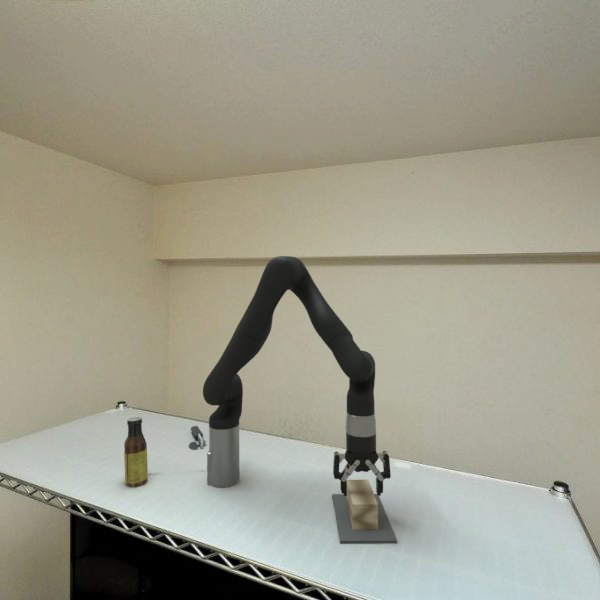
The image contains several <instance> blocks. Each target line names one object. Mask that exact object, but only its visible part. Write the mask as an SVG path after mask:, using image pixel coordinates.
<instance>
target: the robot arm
mask: <svg viewBox="0 0 600 600" xmlns="http://www.w3.org/2000/svg"><path fill="white" fill-rule="evenodd" d="M289 290H290V291H291V292H292V293H293V294H294V295H295V296H296V297H297V298H298V299H299V301H300V302H301V304H302V305H303V306H304V308H305V310H306V313H307V315H308V318H309V320H310V323H311V325H312V327H313V329H314V330H315V332H316V334H318V336H319V337H320V338H321V340H322V341H323V342H324V344H325V345H326V346H327V348H329V350H330V351H331V353H332V355H333V356H334V359H335V360H336V362H337V364H338V366H339V368H340V369H341V371H342V372H343V373H344V375H345V376H346V377H348V378H349V379H348V381H349V383H348V385H349V386H348V390H347V394H346V417H345V446H346V448H345V449H346V451H345V453H340V452H338V451H334V453H333V470H332V471H333V473H332V474H333V478H334V479H335V480H339V481H340V492H341V494H344V496H347V481H346V480H348V478H349V477H350V476H351V475H352V474H353V473H354V472H356V473H360V472H363V473H368V472H369V471H370V472H372V473H373V474H374V476H375V484H376V485H375V490H376V491H375V492H376V494H377V495H378V496H379V497H380V496H381V495H382V494H383V493H384V480H385V479H390V478H391V476H392V475H391V465H390V464H391V463H390V461H391V460H390V456H389V454H388V452H387V451H386V450H384V451H382V452H377V425H376V424H377V423H376V422H377V421H376V415H375V393H374V392H375V391H374V390H375V384H376V382H375V381H376V362H375V359H374V357H373V355H372V354H371V353H370V352H369V351H365V350H361V349H360V347H359V346H358V344H357V343H356V341H354V337H353V334H352V333H351V331H350V330H349V329H348V327H347V326H346V325H345V323H344V322H343V321H342V320H341V319H340V317H339V316H338V315H337V314H336V312H335V310H333V308H332V307H331V305H330V304H329V302H327V300H326V299H325V298H324V296H323V294H322V293H321V291H320V290H319V288H318V286H317V284H316V283H315V282H314V280H313V278H312V276H311V274H310V273H309V270H308V269H307V267H306V266H305V264H304V263H303V261H302V260H301V259H299V258H297V257H295V256H291V255H289V256H288V255H287V256H286V255H279V256H275V257H273V258H271V260H269V261H268V262H267V264H266V266H265V267H264V270H263V272H262V274H261V277H260V280H259V282H258V285H257V287H256V291H255V292H254V294H253V296H252V299H251V301H250V302H249V303H248V306H247V307H246V310H245V312H244V313H243V315H242V316H241V319H240V320H239V322H238V324H237V326H236V328H235V330H234V332H233V334H232V336H231V338H230V340H229V342H228V344H227V346H226V348H225V349H224V351H223V352H222V354H221V356H220V358H219V360H218V361H217V363H216V364H215V366H214V367H213V369H212V370H211V372H210V373H209V374H208V376H207V377H206V379H205V381H204V383H203V387H202V397H203V400H204V401H205V402H206V404H208V405H210V406H218V407H217V408H216V410H215V411H214V412H212V413H211V414H210V416H209V417H208V451H207V454H206V458H207V459H206V461H207V462H206V472H207V473H206V474H207V475H206V476H207V477H206V479H207V480H206V481H207V482H206V485H208V486H212V487H215V488H228V487H230V486H234V485H236V484H237V483H238V482H239V481H240V419H241V416H242V411H243V399H244V398H243V393H244V391H243V390H244V387H243V381H242V378H241V377H240V375H239V374H238V372H240V371H241V370H242V369H243V368H244V367H246V365H247V364H249V363H250V361H252V360H253V359H254V358H255V357H256V356H257V355H258V354H259V352H260V351H261V349H262V348H263V347H264V344H265V343H266V342H267V339H268V338H269V335H270V333H271V331H272V327H273V326H272V325H273V319H274V313H275V310H276V308H277V306H278V304H279V302H280V301H281V299H282V298H283V296H284V295H285V294H286V292H287V291H289ZM379 459H380V462H381V463H382V469H383V471H381V470H379V469H378V467H377V465H376V463H377V461H378V460H379ZM344 460H345V461H346V464H345V465H344V468H343V469H342V471H341V472H340V464H341V463H343V461H344Z"/></svg>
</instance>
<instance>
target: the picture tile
mask: <svg viewBox="0 0 600 600" xmlns="http://www.w3.org/2000/svg"><path fill="white" fill-rule="evenodd" d="M331 495H332V496H331V498H332V503H333V509H334V515H335V523H336V527H337V532H338V538H339V544H342V545H343V544H348V545H349V544H351V545H352V544H398V540H397V537H396V534H395V532H394V530H393V526H392V524H391V522H390V520H389V517H388V514H387V512H386V510H385V507H384V505H383V502H382V500H381V498H380V496H378V495H377V493H374V496H375V498H376V501H377V503H378V530H353V528H352V524H351V520H350V515H349V511H348V507H347V503H346V496H344V494H342V493H333V494H331Z"/></svg>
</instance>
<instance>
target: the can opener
mask: <svg viewBox="0 0 600 600" xmlns="http://www.w3.org/2000/svg"><path fill="white" fill-rule="evenodd" d="M190 431H191V433H192V434H193V437H194V438H195V440H196V441H191V442H189V444H188V448H189V450H192V451H198V450H199V448H200V449H202V450H203V449H204V447H205V445H206V442H207V439H205V438H204V434H203V432H202V431H201V429H200V428H199V426H198V425H194V426H191V428H190ZM203 438H204V439H203ZM197 442H199V443H197Z"/></svg>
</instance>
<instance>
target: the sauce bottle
mask: <svg viewBox="0 0 600 600" xmlns="http://www.w3.org/2000/svg"><path fill="white" fill-rule="evenodd" d="M126 422H127V423H126V424H127V437H126V439H125V441H124V452H123V453H124V482H125V486H126V487H128V488H139V487H142V486H144V485H146V484H147V482H148V477H149V475H148V474H149V472H148V447H147V441H146V439H145V436H144V433H143V430H142V427H143V426H142V423H143V419H142V417H139V416H136V417H135V416H134V417H131V418H128V419H127V421H126Z"/></svg>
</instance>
